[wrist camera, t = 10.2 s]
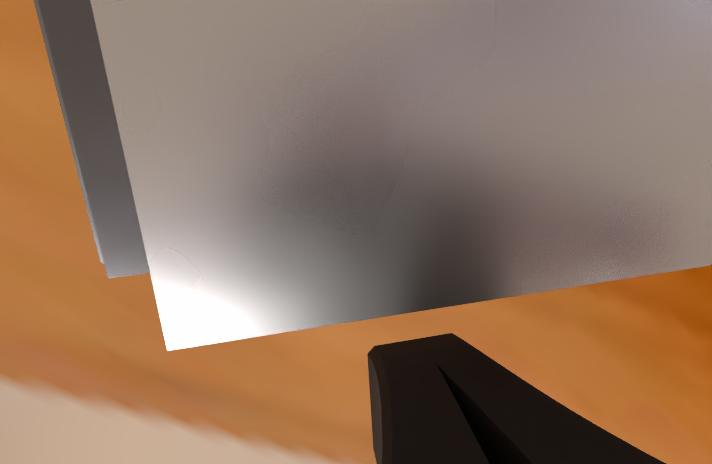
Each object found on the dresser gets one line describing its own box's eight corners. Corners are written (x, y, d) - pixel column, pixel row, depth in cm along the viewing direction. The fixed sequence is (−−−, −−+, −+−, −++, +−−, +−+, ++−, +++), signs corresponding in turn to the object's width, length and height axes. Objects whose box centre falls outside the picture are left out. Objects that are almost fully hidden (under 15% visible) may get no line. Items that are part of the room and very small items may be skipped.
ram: (583, -256, 7) (857, -470, 4) (550, 181, 10) (709, 265, 6) (104, -265, 6) (-32, -552, 3) (193, 226, 9) (167, 350, 5)
